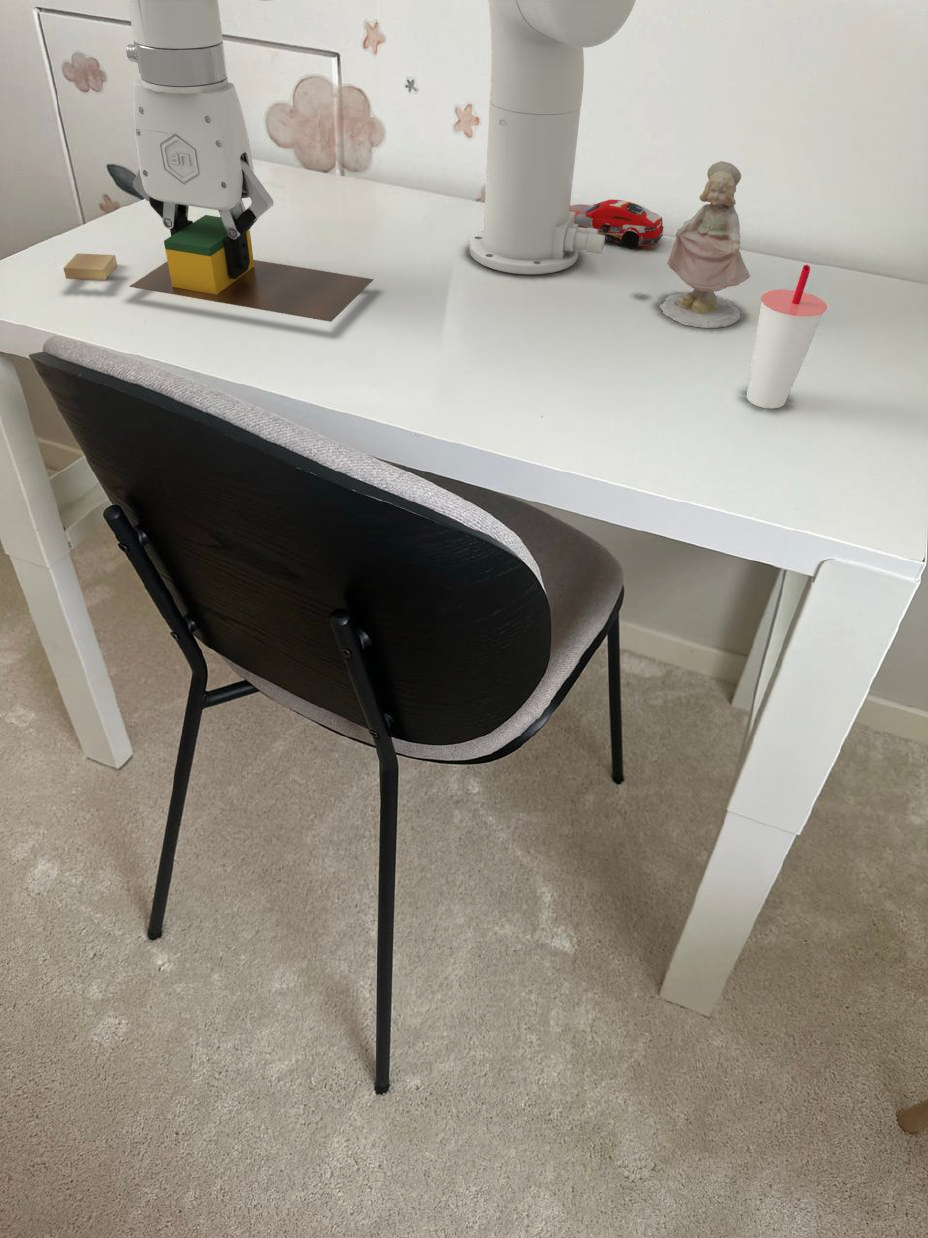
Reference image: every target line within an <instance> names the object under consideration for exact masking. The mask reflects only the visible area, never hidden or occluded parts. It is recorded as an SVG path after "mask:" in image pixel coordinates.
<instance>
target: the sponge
mask: <svg viewBox="0 0 928 1238" xmlns="http://www.w3.org/2000/svg"><path fill="white" fill-rule="evenodd" d="M246 233H247V241H248V249H249V257H250V264H249V267H248V270H247V271H249V270H250V269H251V268H253V267H254V260H255V259H254V252H253V246H252V245H253V244H252V235H251V229H250V230H249V231H247V232H246ZM226 237H228V235H227V232H226V229H225V227H224V224H223V221H222V219H221V216H215V215H208V214H205V215H203V216H201V217H200V218H198V219H197V220H195V221H193V223H192V224H190V225H188V226H187V227H185V228H184V229H182V230H180V231H179V232H177V233H175V234H174V235H172V236H171V235H170V236H169V237H168V238H166V239H164V240H163V244H164V250H165V256H166V260H167V261H168V266H169V271H170V276H171V282H172V287H175V288H180V289H186V290H192V291H198V292H203V293H209V294H215V295H217V294H218V293H220V292H221V291H222V290H224V289H225V288H226V287H228V286H229V285H230V284H232V283H233V282H234V281H236V280H237V279H238V278H240V277H241V276H242V275H244V274H245V273H246V272H247V271H246V272H244V273H243V274H242V275H240V276H239V277H238V278H236V279H231V278H230V277H229V276H228V271H227V264H226V257H225V250H224V243H223V241H224V239H225V238H226ZM167 261H166V262H167Z"/></svg>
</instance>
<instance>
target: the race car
mask: <svg viewBox="0 0 928 1238" xmlns="http://www.w3.org/2000/svg"><path fill="white" fill-rule="evenodd" d="M569 211H571V212H575V221H574V224H578V227H582V228H593V229H598V235H605V241H608V242H612V243H619V244H621V243H623V245H624V247H625V248H627V249H634V248H636V247H637V246H639V247H645V246H652V245H655V244H658V243H659V242H660V240H661V239H662V237H663V236H664V234H663V232H664V225H663V224H664V223H663V216H661V215H659V214H657V213H655V212H653V211H651V209H648V208H646V207H645V206H642V205H640V204H637V203H634V202H631V201H627V200H622V199H607V200H604V201H600V202H597V203H595V204H572V205H570V210H569Z"/></svg>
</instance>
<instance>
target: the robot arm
mask: <svg viewBox="0 0 928 1238" xmlns="http://www.w3.org/2000/svg"><path fill="white" fill-rule="evenodd" d="M126 1H127V8H128V12H129V13H128V14H129V18H130V25H131V29H132V35H133V44H131V43H130V44H128V45H127V46H126V49H125V50H126V57H127V59H128V60H129V62H133V63H135V64H137V68H138V71H139V74H140V78H138V79H136V80H134V81H133V102H132V103H133V105H132V108H133V109H132V110H133V127H134V139H135V146H136V147H135V148H136V155H137V162H138V172H137V174H136V176H135V178H134V180H133V181H132V187H133V189H134V190H135V191H136V192H137V193H138V194H139V195H140V196H141V197H142V198H143V199H144V200H146V202H149V205H150V207H151V208H152V209H153V210H154V211H155V212H156V214H157V215H158V216H159V217H160V218H161V219H162V224H163V226H164V227H165V228H166V229H168V230H169V232H170V237H171V236H172V235H174V234H175V233H177V232H179V231H180V230H182V229H184V228H185V227H187V226H188V225H190V224H192V223H193V222H194V221H193V220H190V219H189V207H193V208H202V209H206V210H207V209H208V210H213V211H218V213H219V217H221V219H222V221H223V224H224V227H225V229H226V232H227V235H228V237H226V238H225V239H224V241H223V243H224V250H225V257H226V264H227V271H228V276H229V277H230V278H231V279H236V278H238V277H239V276H240V275H242V274H243V273H244V272H246V271H247V270H248V267H249V264H250V257H249V249H248V241H247V233H246V232H247V231H249V230H250V231H251V228H252V227H253V225H255V223H256V222H257V221H258V220H259V218H260V217H262V216H263V215H264V214H266V213H267V211H269V210H270V209H271V208H272V207H273V206H274V199H273V197H272V196H271V194H270V193H269V192H268V191H267V189H266V188H265V187H264V185H263V184H262V183H261V181H260V179H259V178H258V177H257V175H256V174H255V171H254V164H253V156H252V151H251V144H250V140H249V136H248V130H247V125H246V120H245V118H244V117H245V116H244V113H243V109H242V106H241V102H240V99H239V96H238V93H237V89H236V86H235V84H234V83H232V82H229V79H228V71H227V63H226V55H225V47H224V37H223V31H222V22H221V15H220V14H221V13H220V6H219V5H220V4H219V0H126ZM260 1H261V2H262V1H263V2H265V1H266V2H271V1H273V0H260ZM487 2H488V11H489V23H490V24H489V25H490V40H491V41H490V43H491V44H490V45H491V59H490V60H491V63H490V64H491V65H490V66H491V67H490V68H491V69H490V91H489V93H490V94H489V108H488V109H489V110H488V127H487V128H488V129H487V149H486V151H487V152H486V153H487V154H486V169H485V170H486V171H485V172H486V173H485V174H486V175H485V191H484V193H485V194H484V211H483V212H484V216H483V230H481V231H479V232H477V233H476V234H474V235H473V236H471V239H470V240H469V245H468V247H469V248H468V249H469V254H470V257H471V258H472V259H473V260H474V261H476V262H477V263H478V264H480V265H481V266H484V267H487V268H489V269H492V270H495V271H499V272H503V273H509V274H515V275H546V274H553V273H557V272H561V271H563V270H567V269H568V268H570V267H572V266H573V265H574V264H575V263H576V262H577V261H578V259H579V252H580V251H585V252H586V253H593V254H600V255H602V254H603V252H604V248H605V243H606V240H605V235H598V229H593V228H582V227H578V224H574V221H575V212H571V211H569V210H570V206H571V201H572V192H573V182H574V171H575V165H576V164H575V163H576V155H577V146H578V145H577V144H578V137H579V126H580V117H581V109H582V102H583V95H584V94H583V93H584V80H585V79H584V78H585V55H584V54H585V53H584V48H585V49H586V48H593V47H598V46H599V45H602V44H604V43H606V42H608V41H609V40H610V39H612V38H613V37H614V36H615V35H616V34H618V32H619V31H620V30H621V29H622V27H623V26H624V25H625V23H626V22H627V20H628V18H629V17H630V15H631V13H632V11H633V9H634V6H635V4H636V0H488V1H487ZM248 198H249V199H250V201H251V203H250V205H249V206H248V207H247V208H246V206H245V203H244V201H243V199H248Z"/></svg>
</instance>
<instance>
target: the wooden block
mask: <svg viewBox="0 0 928 1238" xmlns="http://www.w3.org/2000/svg"><path fill="white" fill-rule="evenodd" d="M117 261H118V260H117V258H116V255H115V254H100V253H99V254H98V253H79V252H78V253H76V254H75V255H74V256H73V257H72V258H71V259H70V260H69V261H68V263H67V264H66V265H64V267H63V272H64V276H65V279H72V280H73V279H76V280H93V281H95V280H96V281H106V280H107V278H108V277H109V276H110V275H111V274H112V272H113V271H114V270H115V269H116V267H118V262H117Z"/></svg>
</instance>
